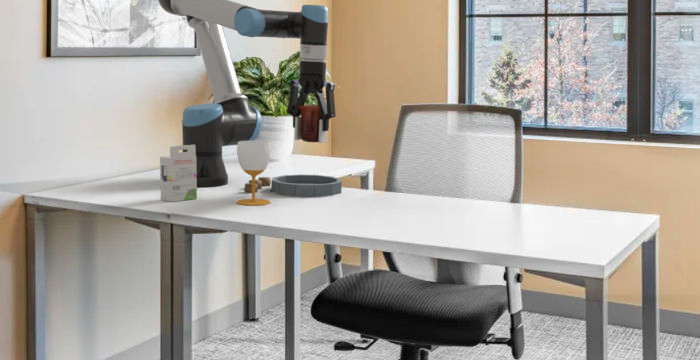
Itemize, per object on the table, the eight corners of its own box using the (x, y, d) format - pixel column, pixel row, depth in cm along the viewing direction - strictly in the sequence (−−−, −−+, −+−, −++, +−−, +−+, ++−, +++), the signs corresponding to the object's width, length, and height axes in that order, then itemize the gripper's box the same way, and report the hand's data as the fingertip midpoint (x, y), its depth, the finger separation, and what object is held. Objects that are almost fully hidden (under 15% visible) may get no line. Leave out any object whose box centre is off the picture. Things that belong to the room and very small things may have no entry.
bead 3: (255, 186, 262) (256, 178, 262) (263, 184, 265) (263, 176, 265) (265, 187, 260) (265, 179, 260) (272, 185, 263) (273, 177, 263)
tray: (258, 191, 252) (258, 180, 251) (297, 183, 269) (297, 172, 268) (317, 198, 242) (317, 187, 241) (354, 189, 259) (354, 179, 259)
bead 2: (246, 188, 257) (246, 180, 256) (253, 187, 260) (253, 179, 259) (256, 190, 255) (256, 181, 254) (263, 188, 258) (263, 180, 258)
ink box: (186, 196, 241) (186, 142, 238) (197, 199, 237) (197, 144, 235) (159, 199, 235) (158, 144, 232) (169, 202, 231) (169, 146, 229)
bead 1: (242, 192, 250) (242, 184, 250) (249, 191, 253) (249, 182, 253) (252, 193, 248) (252, 185, 248) (260, 192, 251) (260, 183, 251)
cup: (261, 206, 228) (262, 144, 226) (230, 203, 231) (230, 142, 229) (276, 201, 237) (277, 141, 234) (245, 198, 240) (246, 139, 237)
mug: (301, 138, 260) (303, 103, 258) (330, 140, 258) (332, 105, 257) (291, 143, 248) (292, 106, 246) (321, 145, 247) (323, 108, 245)
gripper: (275, 58, 251) (273, 138, 255) (337, 62, 242) (333, 145, 245) (290, 58, 258) (287, 136, 262) (350, 62, 248) (347, 143, 252)
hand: (310, 140), depth 253 cm, fingers closed on mug, 7 cm apart
